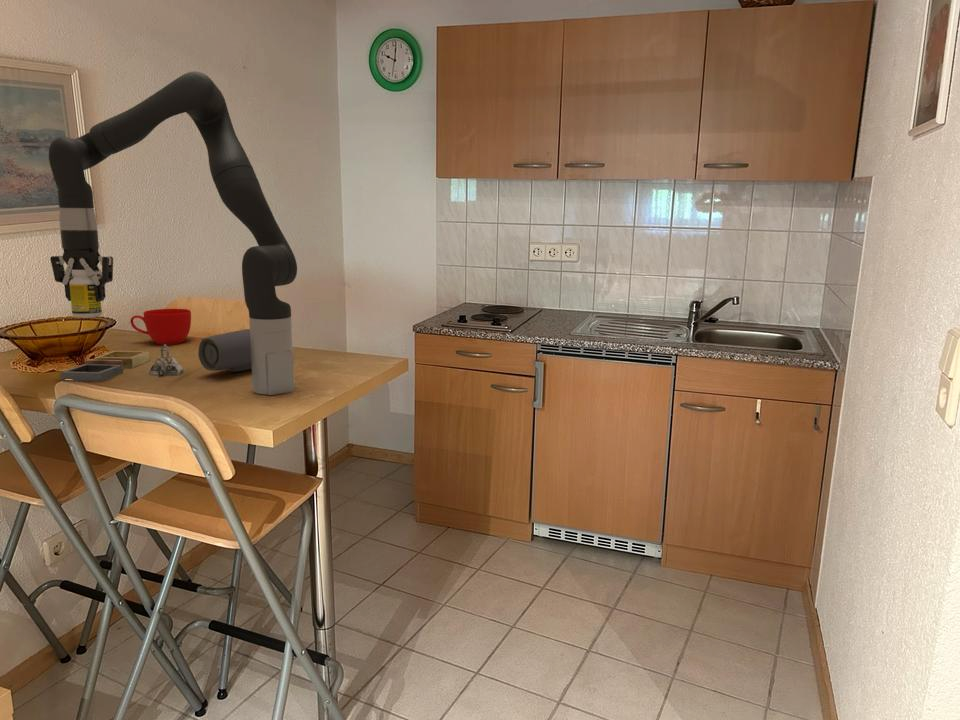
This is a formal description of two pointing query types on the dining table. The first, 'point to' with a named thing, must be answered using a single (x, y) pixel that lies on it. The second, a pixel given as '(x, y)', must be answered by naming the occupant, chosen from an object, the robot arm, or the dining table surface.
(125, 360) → the brass socket
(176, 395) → the dining table surface
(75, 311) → the pill bottle
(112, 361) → the door edge sill
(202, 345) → the bluetooth speaker
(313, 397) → the dining table surface
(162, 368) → the house of cards
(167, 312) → the ceramic cup
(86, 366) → the graphite socket
